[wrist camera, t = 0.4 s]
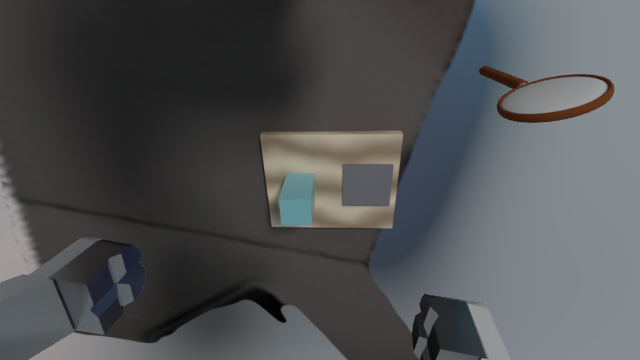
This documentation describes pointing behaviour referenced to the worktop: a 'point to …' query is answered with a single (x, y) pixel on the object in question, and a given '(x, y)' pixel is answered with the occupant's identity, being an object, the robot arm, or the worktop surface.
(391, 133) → the post board
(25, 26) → the worktop surface
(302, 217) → the teal pillar
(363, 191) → the pad
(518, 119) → the magnifying glass
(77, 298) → the robot arm
